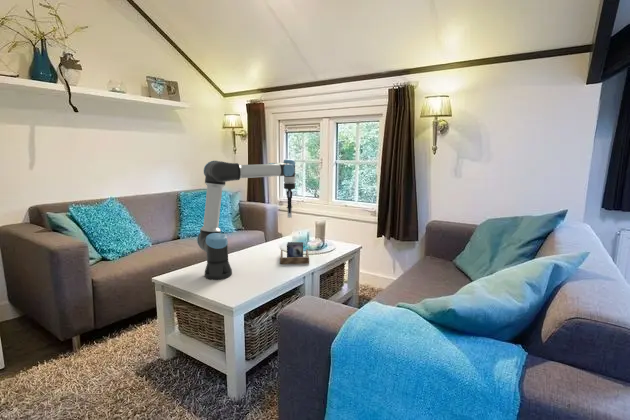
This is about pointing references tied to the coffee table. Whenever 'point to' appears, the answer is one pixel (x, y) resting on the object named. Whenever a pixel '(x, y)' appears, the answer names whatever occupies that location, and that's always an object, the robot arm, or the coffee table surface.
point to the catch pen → (294, 259)
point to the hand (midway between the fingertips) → (289, 217)
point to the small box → (295, 249)
